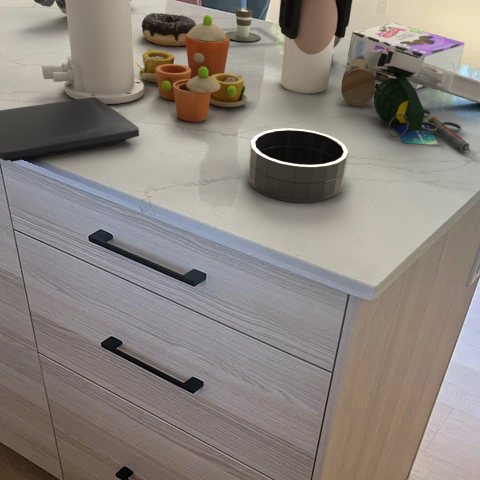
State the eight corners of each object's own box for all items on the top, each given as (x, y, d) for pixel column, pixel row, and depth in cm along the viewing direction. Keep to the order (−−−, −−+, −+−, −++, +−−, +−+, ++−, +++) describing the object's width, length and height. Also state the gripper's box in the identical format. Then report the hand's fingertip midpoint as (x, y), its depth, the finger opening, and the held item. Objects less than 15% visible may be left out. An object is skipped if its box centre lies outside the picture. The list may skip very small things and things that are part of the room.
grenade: (362, 113, 103) (394, 144, 95) (368, 68, 98) (401, 98, 90) (397, 108, 104) (431, 139, 96) (404, 64, 99) (441, 93, 91)
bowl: (269, 207, 76) (272, 170, 73) (235, 166, 84) (237, 131, 81) (358, 197, 80) (365, 162, 77) (317, 159, 88) (322, 125, 84)
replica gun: (355, 43, 104) (349, 65, 106) (392, 46, 91) (384, 70, 93) (501, 91, 112) (493, 110, 114) (554, 99, 99) (545, 121, 101)
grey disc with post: (227, 46, 126) (229, 17, 122) (205, 30, 133) (206, 2, 130) (281, 43, 130) (284, 15, 126) (257, 28, 137) (259, 1, 134)
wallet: (144, 143, 88) (95, 108, 96) (143, 129, 86) (93, 95, 95) (2, 171, 79) (-38, 130, 87) (-1, 155, 77) (-41, 115, 86)
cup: (294, 95, 107) (302, 26, 99) (262, 74, 114) (267, 8, 107) (336, 91, 109) (346, 24, 102) (302, 71, 117) (309, 6, 110)
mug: (347, 63, 101) (352, 47, 109) (335, 99, 104) (340, 80, 113) (394, 80, 101) (395, 63, 110) (379, 115, 105) (381, 96, 113)
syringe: (451, 161, 90) (455, 149, 89) (393, 114, 102) (396, 103, 101) (495, 161, 93) (500, 149, 91) (433, 115, 104) (437, 104, 103)
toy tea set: (131, 72, 110) (128, 7, 103) (216, 69, 114) (218, 6, 107) (172, 128, 93) (171, 54, 86) (269, 121, 97) (276, 51, 90)
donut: (156, 50, 121) (156, 26, 118) (132, 34, 128) (130, 11, 125) (207, 45, 125) (208, 22, 122) (181, 30, 132) (181, 8, 129)
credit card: (393, 122, 100) (393, 122, 100) (426, 124, 101) (426, 124, 100) (403, 143, 94) (403, 142, 94) (438, 145, 95) (438, 144, 94)
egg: (307, 45, 75) (316, -25, 70) (341, 56, 72) (352, -16, 67) (278, 51, 72) (285, -21, 67) (312, 63, 70) (322, -11, 65)
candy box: (425, 54, 109) (350, 31, 117) (416, 91, 113) (344, 66, 121) (466, 41, 116) (393, 20, 124) (456, 76, 120) (386, 54, 128)
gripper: (270, -197, 53) (253, 47, 66) (440, -181, 58) (394, 42, 71) (239, -199, 58) (229, 28, 71) (399, -185, 63) (363, 25, 76)
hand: (312, 33), depth 71 cm, fingers closed on egg, 5 cm apart
